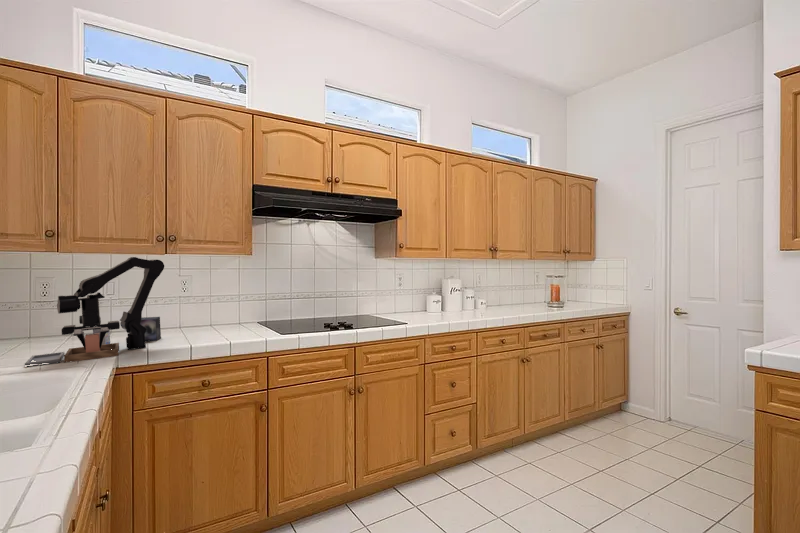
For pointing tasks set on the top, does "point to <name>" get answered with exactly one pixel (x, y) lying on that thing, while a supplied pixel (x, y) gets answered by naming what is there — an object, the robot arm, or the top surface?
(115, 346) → the frame
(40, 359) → the charcoal tray
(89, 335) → the brick block
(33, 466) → the top surface
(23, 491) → the top surface
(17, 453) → the top surface
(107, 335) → the medicine box
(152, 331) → the small box
